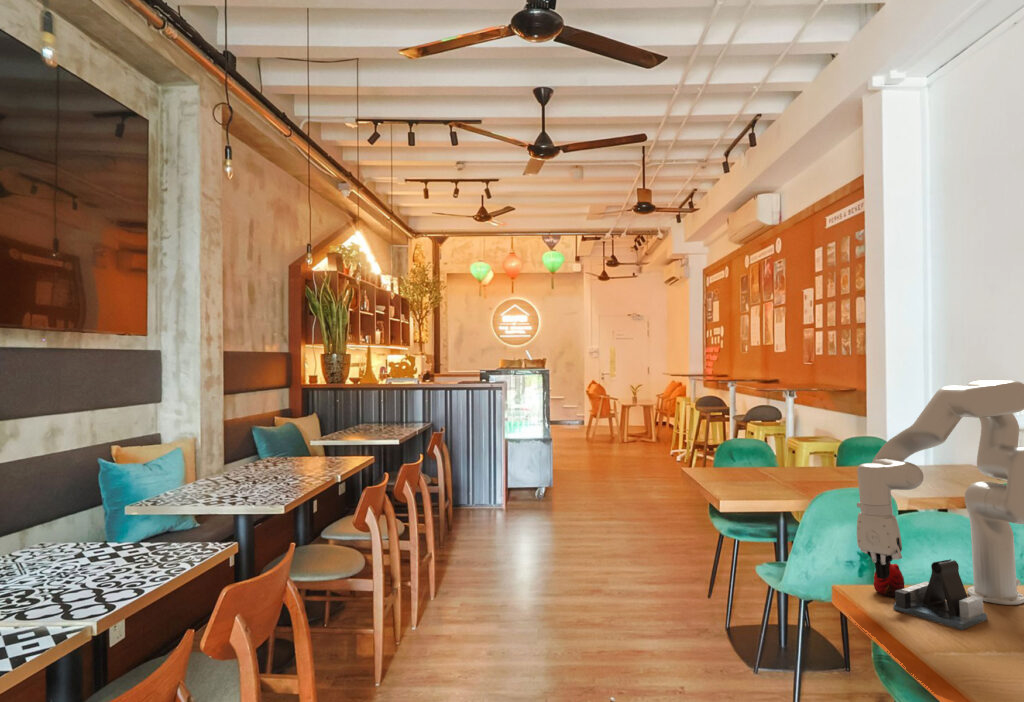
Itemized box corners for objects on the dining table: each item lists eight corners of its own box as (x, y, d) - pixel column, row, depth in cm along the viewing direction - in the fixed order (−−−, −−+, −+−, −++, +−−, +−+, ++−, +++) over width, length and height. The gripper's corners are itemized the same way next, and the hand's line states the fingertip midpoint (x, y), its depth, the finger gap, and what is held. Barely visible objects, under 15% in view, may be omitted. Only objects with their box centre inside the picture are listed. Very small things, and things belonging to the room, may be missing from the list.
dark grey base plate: (919, 600, 175) (918, 580, 176) (987, 619, 161) (985, 597, 161) (893, 609, 170) (892, 588, 170) (961, 630, 155) (960, 607, 155)
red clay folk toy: (903, 592, 182) (900, 539, 183) (906, 600, 176) (903, 545, 176) (873, 589, 185) (870, 537, 186) (875, 597, 179) (872, 543, 179)
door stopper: (972, 611, 162) (970, 564, 163) (955, 615, 160) (953, 567, 161) (939, 600, 171) (936, 555, 171) (922, 603, 169) (920, 558, 169)
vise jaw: (925, 595, 174) (924, 581, 174) (935, 598, 171) (934, 583, 172) (895, 606, 167) (895, 590, 167) (905, 609, 165) (904, 593, 165)
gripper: (842, 507, 177) (848, 574, 177) (896, 516, 164) (903, 588, 164) (858, 503, 181) (864, 568, 180) (912, 511, 168) (919, 581, 167)
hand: (883, 577), depth 172 cm, fingers closed
